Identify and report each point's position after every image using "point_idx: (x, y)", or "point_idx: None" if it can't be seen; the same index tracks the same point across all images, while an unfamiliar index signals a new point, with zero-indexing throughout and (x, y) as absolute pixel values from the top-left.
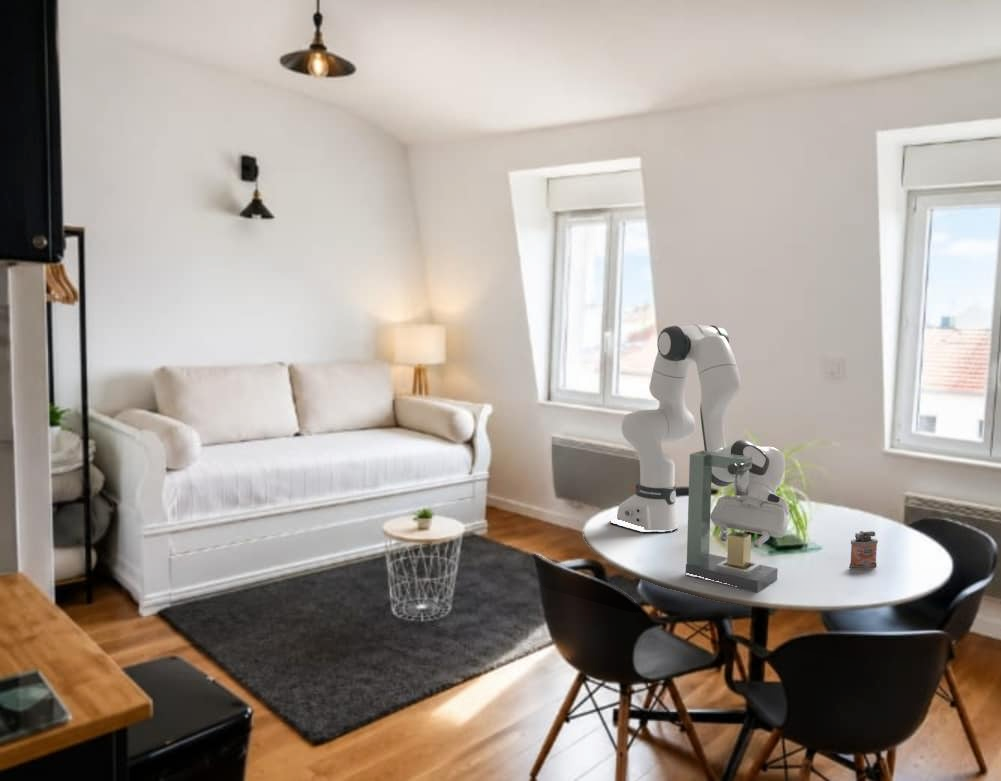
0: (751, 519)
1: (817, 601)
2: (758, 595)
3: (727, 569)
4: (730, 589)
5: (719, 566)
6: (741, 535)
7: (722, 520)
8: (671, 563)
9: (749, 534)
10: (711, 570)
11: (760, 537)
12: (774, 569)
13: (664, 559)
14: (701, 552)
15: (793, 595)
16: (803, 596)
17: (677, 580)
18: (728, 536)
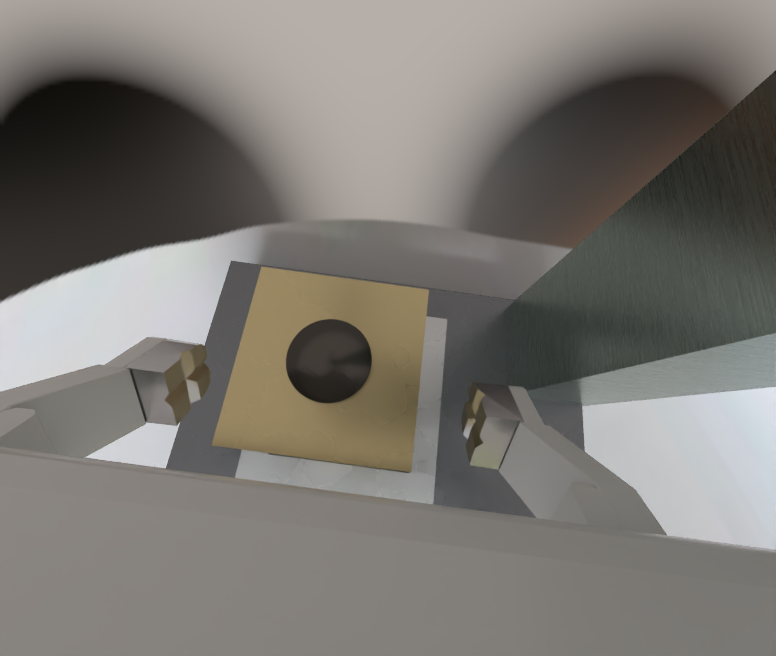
0: (39, 641)
1: (17, 306)
2: (242, 257)
3: None
4: (348, 265)
5: (427, 318)
6: (301, 329)
7: (685, 545)
8: (680, 449)
9: (229, 440)
10: (449, 291)
11: (91, 377)
12: None
13: (740, 492)
14: (543, 282)
15: (111, 324)
16: (70, 333)
17: (543, 258)
18: (422, 293)
